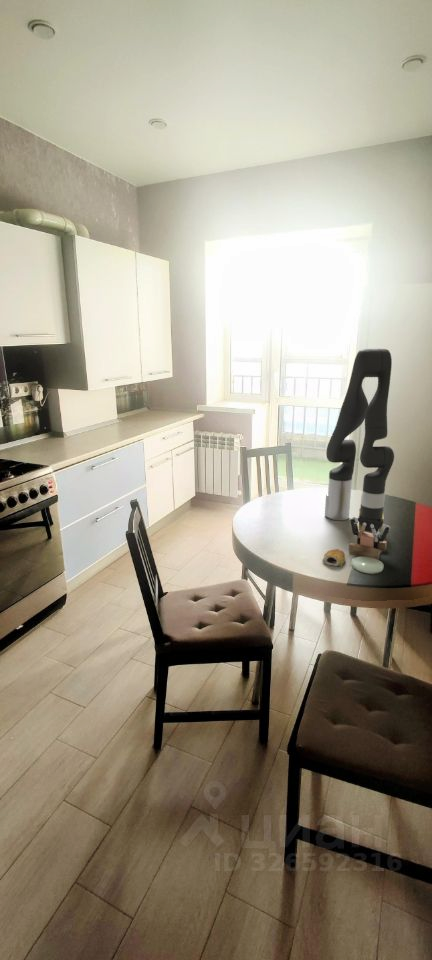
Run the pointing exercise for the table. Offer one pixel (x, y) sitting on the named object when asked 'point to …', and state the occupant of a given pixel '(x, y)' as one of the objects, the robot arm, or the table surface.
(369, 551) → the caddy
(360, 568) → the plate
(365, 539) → the part
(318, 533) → the table surface
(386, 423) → the robot arm
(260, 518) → the table surface
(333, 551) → the pastry
